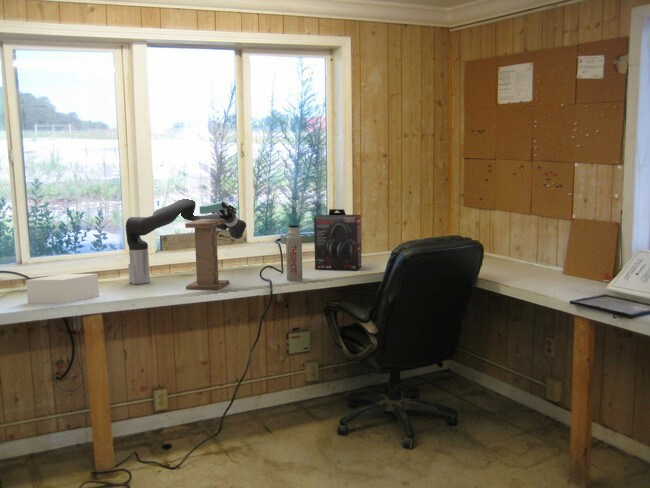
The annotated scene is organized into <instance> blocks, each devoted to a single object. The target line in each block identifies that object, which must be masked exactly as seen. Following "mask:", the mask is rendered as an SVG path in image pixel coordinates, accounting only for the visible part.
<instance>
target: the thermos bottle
mask: <svg viewBox="0 0 650 488" xmlns="http://www.w3.org/2000/svg"><path fill="white" fill-rule="evenodd" d="M302 241H303V238H302V235H301V231H300V230H299V225H298V224H290V225H288V231H287V232H286V236H285V254H286V256H285V257H286V258H285V259H286V260H285V262H286V281H288V282H301V281H303V244H302V243H303V242H302Z"/></svg>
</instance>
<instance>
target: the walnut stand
mask: <svg viewBox="0 0 650 488" xmlns="http://www.w3.org/2000/svg"><path fill="white" fill-rule="evenodd" d="M223 223H225V222H224V219H199V220H196V221H189V222H186V223H185V224H184V225H185V229H194V242H195V243H194V244H195V268H196V269H195V271H196V280H195V281H194V282H191V283H188V284H187V285H186V286H185V289H186V290H200V291H201V290H205V291H219V290H220V289H222V288H224V287H225V286H227V285H228V284H230V280H229V279H228V280H227V279H226V280H225V279H219V263H218V262H219V261H218V260H219V257H218V232H217V229H218V228H216V226H217V225H220V224H223Z"/></svg>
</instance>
